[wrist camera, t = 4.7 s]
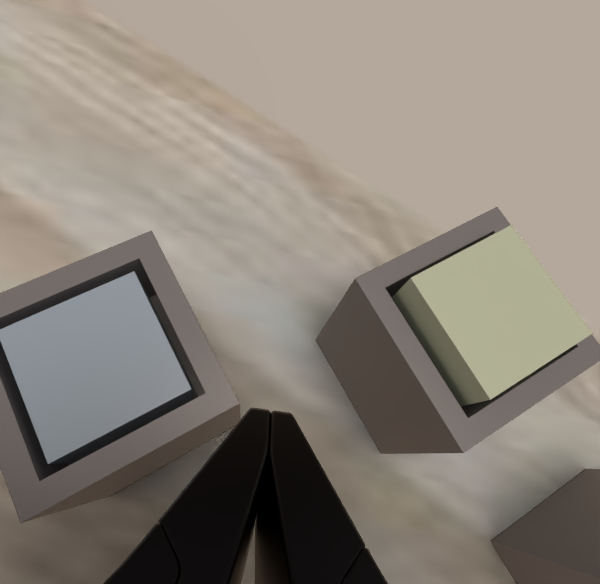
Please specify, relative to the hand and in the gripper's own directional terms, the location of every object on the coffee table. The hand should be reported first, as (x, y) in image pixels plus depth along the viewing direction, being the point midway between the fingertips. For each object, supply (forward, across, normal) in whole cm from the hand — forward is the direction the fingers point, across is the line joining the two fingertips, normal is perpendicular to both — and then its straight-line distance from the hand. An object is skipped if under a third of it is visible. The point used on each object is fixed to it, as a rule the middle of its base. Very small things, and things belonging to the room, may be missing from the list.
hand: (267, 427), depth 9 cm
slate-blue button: (+5, +5, +3) cm, 8 cm away
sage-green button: (+7, -6, 0) cm, 9 cm away
